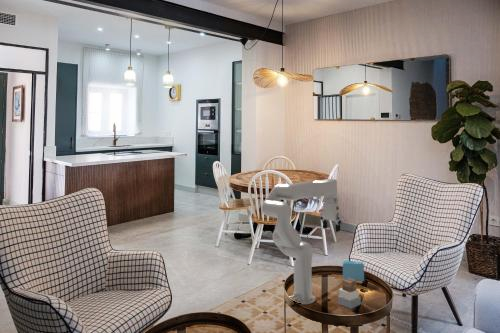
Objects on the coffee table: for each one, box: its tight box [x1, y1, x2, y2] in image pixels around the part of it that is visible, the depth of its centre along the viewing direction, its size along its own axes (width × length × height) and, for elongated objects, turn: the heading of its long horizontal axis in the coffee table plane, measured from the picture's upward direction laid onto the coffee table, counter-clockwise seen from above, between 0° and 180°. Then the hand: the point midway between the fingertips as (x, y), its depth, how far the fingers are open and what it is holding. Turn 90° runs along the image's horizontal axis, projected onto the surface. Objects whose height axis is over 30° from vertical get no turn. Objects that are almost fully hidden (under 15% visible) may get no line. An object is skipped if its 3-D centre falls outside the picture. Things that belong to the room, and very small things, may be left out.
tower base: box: [337, 296, 362, 310], centre depth 193 cm, size 8×8×4 cm
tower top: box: [338, 287, 360, 301], centre depth 193 cm, size 7×7×4 cm
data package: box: [342, 260, 365, 282], centre depth 223 cm, size 12×4×12 cm, turn 75°
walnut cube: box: [341, 278, 357, 292], centre depth 193 cm, size 5×5×5 cm
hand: (331, 229), depth 216 cm, fingers open, 9 cm apart
